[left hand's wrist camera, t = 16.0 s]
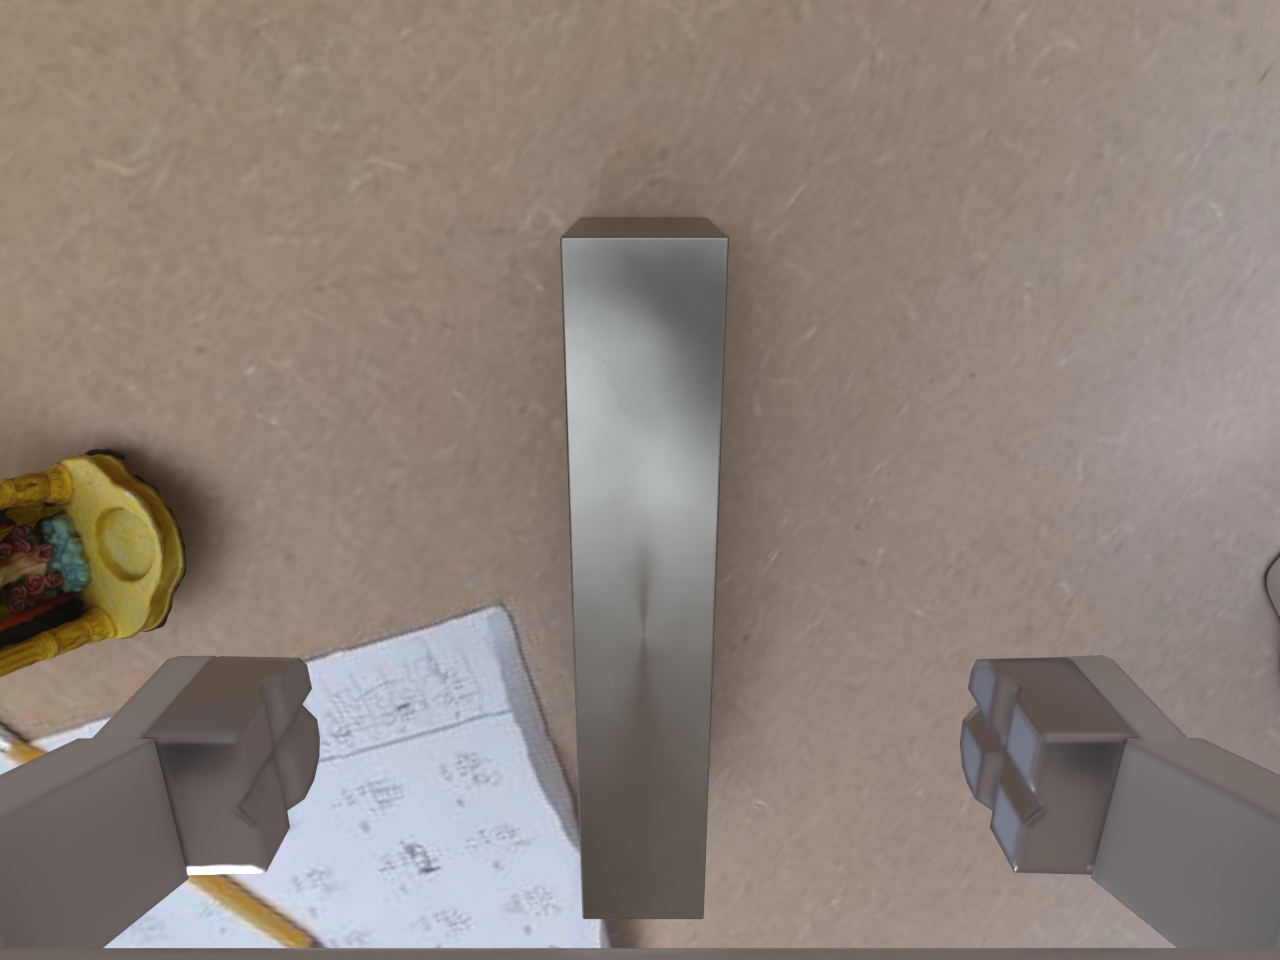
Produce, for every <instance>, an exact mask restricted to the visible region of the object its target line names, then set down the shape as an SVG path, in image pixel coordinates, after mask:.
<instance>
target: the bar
mask: <svg viewBox="0 0 1280 960" xmlns="http://www.w3.org/2000/svg"><path fill="white" fill-rule="evenodd" d="M560 243H561V274H562V304H563V335H564V365H565V396H566V426H567V457H568V488H569V518H570V549H571V579H572V610H573V641H574V671H575V702H576V732H577V763H578V794H579V824H580V855H581V885H582V916H583V919H703V917H704V891H705V864H706V838H707V811H708V784H709V757H710V730H711V704H712V677H713V650H714V623H715V597H716V570H717V543H718V516H719V489H720V463H721V436H722V409H723V382H724V355H725V329H726V302H727V275H728V248H729V238H728V237H727V236H726V235H725V234H724V233H723V232H722V231H721V230H720V229H719V228H717V227H716V226H715V225H714V224H713V223H712V222H711V221H710V220H709V219H707V218H580V219H579V220H578V221H577V222H576V223H575V224H574V225H573V226H572V227H571V228H570V229H569V230H568V231H567V232H566V233H565V234H564V235H563V236H562V237H561V239H560Z"/></svg>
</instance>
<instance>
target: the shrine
mask: <svg viewBox="0 0 1280 960" xmlns="http://www.w3.org/2000/svg"><path fill="white" fill-rule="evenodd" d="M123 462H124V456H123V455H122V454H121V453H120V452H116V451H113V450H110V449H106V450H99V449H95V450H90V451H88V452H86V453H85V455H80V456H75V457H70V458H69V457H67V458H64V459H63V460H62V461H61V463H56V464H55V465H54V466H53V467H51V468H50V469H48V470H47V471H43V472H41V473H29V474H25V475H22V476H19V477H17V478H13V479H1V480H0V677H2V676H5V675H7V674H9V673H12V672H14V671H16V670H18V669H21V668H23V667H26V666H30V665H32V664H34V663H36V662H39V661H47V660H49V659H51V658H54V657H56V656H57V655H60V654H63V653H66V652H68V651H71V650H74V649H76V648H79V647H81V646H83V645H84V644H91V643H96V642H99V641H101V640H109V639H120V638H122V639H127V638H132V637H134V636H135V635H136V634H138V633H139V632H140V631H141V632H148V631H152V630H154V629H156V628H160V627H162V626H164V625H165V623H166V621H167V617H168V615H169V613H170V611H171V607H172V601H173V596H174V593H175V591H176V590H177V588H178V587H179V585H180V581H181V580H182V578H183V577H184V575H185V571H186V559H185V545H184V542H183V540H182V535H181V530H180V528H179V525H178V524H177V521H176V518H175V516H174V514H173V511H172V510H171V508H170V507H168V506H167V505H166V504H165V503H164V501H163V500H162V497H161V496H160V493H159V491H158V489H157V488H156V487H154V486H153V485H151V484H149V483H147V482H146V481H144V480H143V479H142V478H141V477H139V476H137V475H134V474H132V473H131V472H130V471H128V469H127V468H126V466H125V465H124V464H123Z"/></svg>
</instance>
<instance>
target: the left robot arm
mask: <svg viewBox="0 0 1280 960" xmlns="http://www.w3.org/2000/svg"><path fill="white" fill-rule="evenodd" d="M1266 583H1267V589H1268V593H1269V596H1270V598H1271V601H1272V603H1273V605H1274V607H1275V609H1276V611H1277V613H1278V615H1279V617H1280V557H1279V558H1278V559H1277V560H1276V561H1275V563H1274V564H1273V565H1272V567H1271V568H1270V570H1269V572H1268V575H1267V582H1266ZM311 689H312V687H311V682H310V677H309V672H308V668H307V665H306V664H305V663H304V662H303V661H302V660H301V659H300V658H281V657H232V656H220V657H216V656H178V657H174V658H170V659H168V660H167V661H166V662H165V663H164V664H163V665H162V666H161V667H160V668H159V669H158V670H157V671H156V672H155V673H154V674H153V675H152V676H151V677H150V678H149V679H148V681H147V682H146V683H145V684H144V685H143V686H142V687H141V688H140V689H139V690H138V691H137V692H136V693H135V694H134V695H133V696H132V697H131V698H130V699H129V700H128V701H127V702H126V703H125V705H124V706H123V707H122V708H121V709H120V710H119V711H118V712H117V713H116V714H115V715H114V716H113V717H112V718H111V719H110V720H109V721H108V722H107V723H106V724H105V725H104V726H103V727H102V729H101V730H100V731H99V732H98V733H97V734H96V735H95V736H94V737H93V738H89V739H76V740H74V741H72V742H70V743H68V744H65V745H63V746H61V747H59V748H57V749H55V750H53V751H51V752H48V753H46V754H44V755H42V756H40V757H38V758H36V759H34V760H31V761H29V762H27V763H25V764H23V765H21V766H19V767H16V768H14V769H12V770H10V771H8V772H6V773H4V774H2V775H0V960H1280V775H1278V774H1276V773H1274V772H1272V771H1270V770H1268V769H1266V768H1263V767H1261V766H1259V765H1257V764H1255V763H1253V762H1251V761H1249V760H1246V759H1244V758H1242V757H1240V756H1238V755H1236V754H1234V753H1232V752H1229V751H1227V750H1225V749H1223V748H1221V747H1219V746H1217V745H1215V744H1212V743H1210V742H1208V741H1206V740H1204V739H1191V738H1187V737H1186V736H1185V735H1184V734H1183V733H1182V732H1181V731H1180V729H1179V728H1178V727H1177V726H1176V725H1175V724H1174V723H1173V722H1172V721H1171V720H1170V719H1169V718H1168V717H1167V716H1166V715H1165V714H1164V713H1163V712H1162V711H1161V710H1160V709H1159V708H1158V706H1157V705H1156V704H1155V703H1154V702H1153V701H1152V700H1151V699H1150V698H1149V697H1148V696H1147V695H1146V694H1145V693H1144V692H1143V691H1142V690H1141V689H1140V688H1139V687H1138V686H1137V685H1136V683H1135V682H1134V681H1133V680H1132V679H1131V678H1130V677H1129V676H1128V675H1127V674H1126V673H1125V672H1124V671H1123V670H1122V669H1121V668H1120V667H1119V666H1118V665H1117V664H1116V663H1115V662H1114V660H1112V659H1109V658H1107V657H1105V656H1102V655H1100V656H1072V657H1054V658H1010V659H977V660H976V662H975V664H974V666H973V668H972V671H971V676H970V681H969V687H968V689H969V691H970V692H971V694H972V696H973V697H974V699H975V701H976V702H977V704H978V705H977V706H976V707H975V708H974V709H973V710H972V711H971V712H970V713H969V714H968V715H967V716H966V717H965V718H964V719H963V723H962V731H961V739H960V749H961V760H962V767H963V771H964V774H965V777H966V781H967V784H968V786H969V788H970V790H971V792H972V794H973V795H974V797H975V799H976V800H978V801H979V802H981V803H982V804H984V805H985V806H987V807H988V808H989V809H991V810H992V811H993V813H992V819H991V825H990V828H991V830H992V832H993V834H994V836H995V837H996V839H997V841H998V843H999V845H1000V847H1001V849H1002V851H1003V852H1004V854H1005V856H1006V858H1007V860H1008V862H1009V864H1010V865H1011V867H1012V869H1013V871H1014V872H1019V873H1055V874H1091V875H1092V877H1091V878H1092V879H1093V880H1094V881H1095V882H1097V883H1098V884H1099V885H1100V886H1102V887H1103V888H1104V889H1105V890H1107V891H1108V892H1109V893H1110V894H1111V895H1113V896H1114V897H1115V898H1116V899H1118V900H1119V901H1120V902H1121V903H1123V904H1124V905H1125V906H1126V907H1127V908H1129V909H1130V910H1131V911H1132V912H1134V913H1135V914H1136V915H1137V916H1139V917H1140V918H1141V919H1142V920H1144V921H1145V922H1146V923H1147V924H1148V925H1150V926H1151V927H1152V928H1153V929H1155V930H1156V931H1157V932H1158V933H1160V934H1161V935H1162V936H1163V937H1164V938H1166V939H1167V940H1168V941H1169V942H1171V943H1172V944H1173V945H1174V946H1176V947H1177V948H103V947H105V946H106V945H107V944H108V943H110V942H111V941H112V940H113V939H115V938H116V937H117V936H118V935H119V934H121V933H122V932H123V931H124V930H126V929H127V928H128V927H129V926H131V925H132V924H133V923H134V922H136V921H137V920H138V919H139V918H140V917H142V916H143V915H144V914H145V913H147V912H148V911H149V910H150V909H152V908H153V907H154V906H155V905H157V904H158V903H159V902H160V901H161V900H163V899H164V898H165V897H166V896H168V895H169V894H170V893H171V892H173V891H174V890H175V889H176V888H178V887H179V886H180V885H181V884H182V883H184V882H185V881H186V880H187V879H188V878H189V877H188V875H189V874H224V873H259V872H266V871H267V869H268V868H269V866H270V864H271V862H272V860H273V858H274V856H275V854H276V852H277V851H278V849H279V847H280V845H281V843H282V841H283V839H284V837H285V836H286V834H287V832H288V830H289V828H290V825H289V819H288V813H287V811H288V810H289V809H291V808H292V807H294V806H295V805H296V804H298V803H299V802H301V801H302V800H304V799H305V797H306V795H307V793H308V791H309V789H310V787H311V785H312V783H313V781H314V778H315V774H316V769H317V765H318V760H319V747H320V736H319V729H318V723H317V719H316V718H315V717H314V716H313V715H312V714H311V713H310V712H309V711H308V710H307V709H306V708H305V707H304V706H303V705H302V704H303V702H304V701H305V699H306V697H307V696H308V694H309V692H310V691H311Z"/></svg>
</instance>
